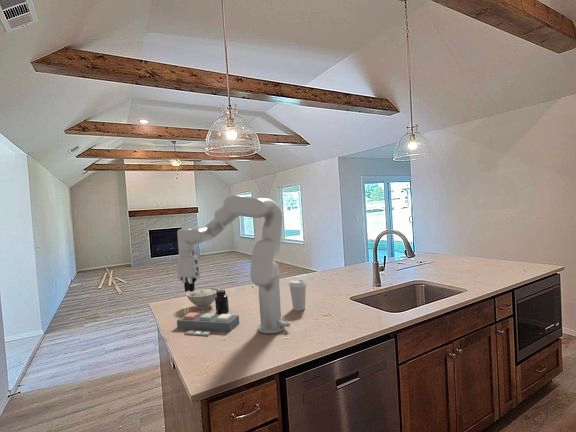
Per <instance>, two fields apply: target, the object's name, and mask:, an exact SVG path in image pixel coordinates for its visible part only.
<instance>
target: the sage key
mask: <svg viewBox="0 0 576 432" xmlns="http://www.w3.org/2000/svg"><path fill="white" fill-rule="evenodd" d="M203 314H204V315H202V316H201V317H200V320H212V319H213V318H214V317H215V314H216V313H212V312H211V313H210V312H206V313H203Z"/></svg>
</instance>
